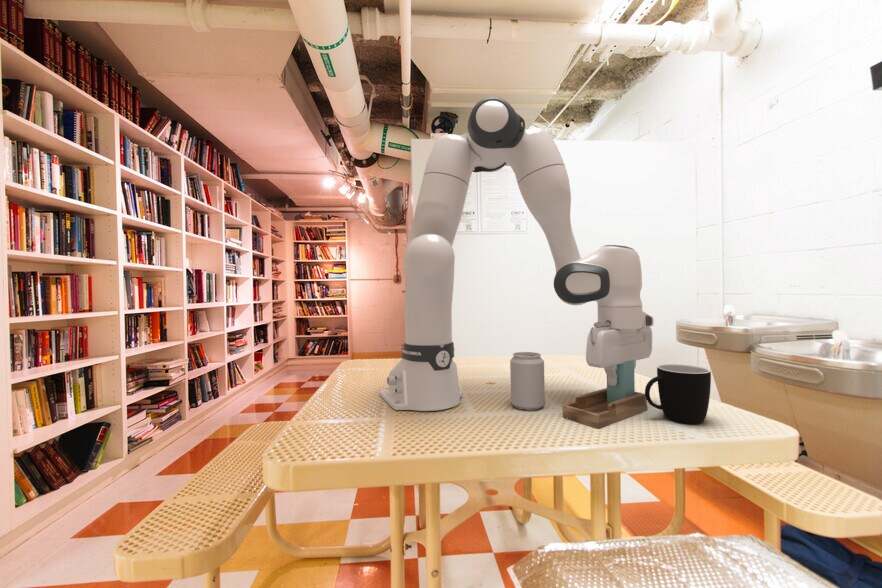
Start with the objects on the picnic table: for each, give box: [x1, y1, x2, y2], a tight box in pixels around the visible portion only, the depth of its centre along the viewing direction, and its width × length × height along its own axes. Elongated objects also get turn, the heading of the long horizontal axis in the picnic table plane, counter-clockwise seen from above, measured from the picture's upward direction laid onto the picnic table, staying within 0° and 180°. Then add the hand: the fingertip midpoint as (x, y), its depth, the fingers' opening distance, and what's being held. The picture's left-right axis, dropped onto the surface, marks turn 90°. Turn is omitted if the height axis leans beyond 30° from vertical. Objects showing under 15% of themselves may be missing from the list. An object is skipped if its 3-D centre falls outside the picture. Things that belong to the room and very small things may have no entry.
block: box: [606, 361, 636, 402], centre depth 81 cm, size 4×4×9 cm
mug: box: [644, 363, 712, 425], centre depth 74 cm, size 12×9×10 cm
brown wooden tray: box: [562, 387, 648, 430], centre depth 78 cm, size 8×18×4 cm, turn 124°
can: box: [509, 351, 546, 411], centre depth 84 cm, size 8×8×12 cm
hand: (620, 382), depth 81 cm, fingers closed on block, 4 cm apart
